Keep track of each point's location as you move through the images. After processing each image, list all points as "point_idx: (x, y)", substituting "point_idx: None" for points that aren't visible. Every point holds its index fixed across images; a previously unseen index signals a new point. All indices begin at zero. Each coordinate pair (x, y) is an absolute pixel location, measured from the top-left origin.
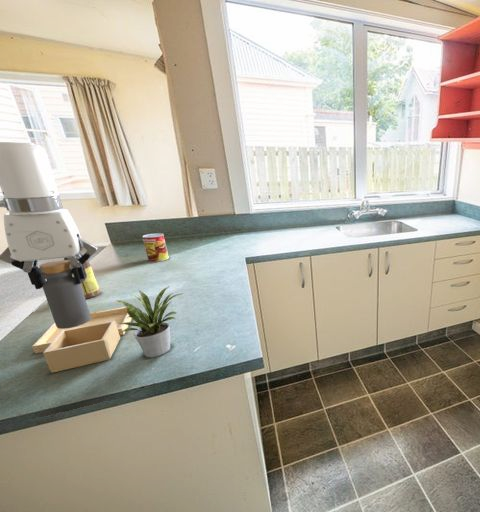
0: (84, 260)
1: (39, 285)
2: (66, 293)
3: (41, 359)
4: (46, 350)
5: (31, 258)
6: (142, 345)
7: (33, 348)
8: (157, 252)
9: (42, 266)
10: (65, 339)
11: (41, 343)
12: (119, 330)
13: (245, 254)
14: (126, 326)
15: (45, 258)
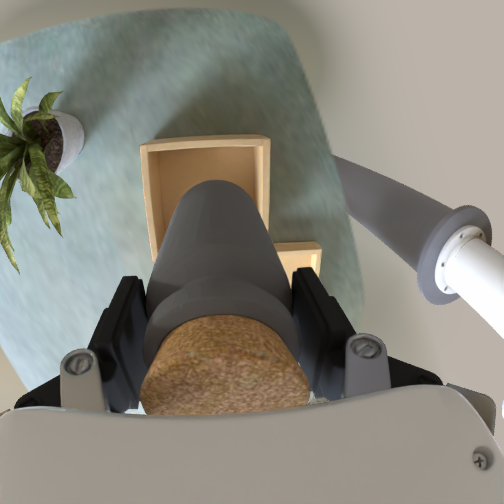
0: (46, 390)
1: (298, 278)
2: (185, 230)
3: (297, 209)
4: (266, 148)
5: (354, 409)
6: (63, 114)
7: (319, 246)
8: None
9: (282, 368)
10: None
11: (312, 266)
12: None
13: None
14: None
15: (231, 416)
